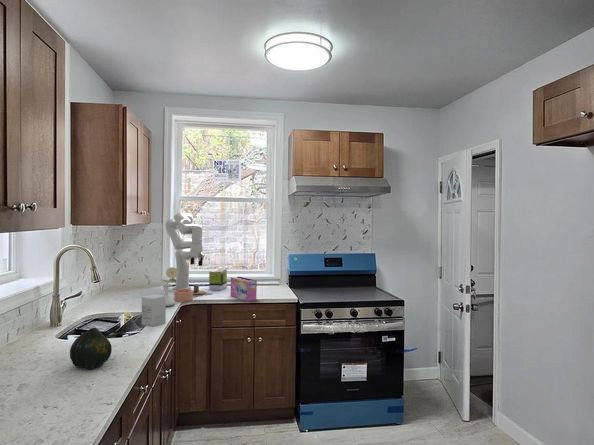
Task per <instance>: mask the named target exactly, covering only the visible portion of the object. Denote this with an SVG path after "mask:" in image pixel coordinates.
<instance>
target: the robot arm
mask: <svg viewBox="0 0 594 445" xmlns="http://www.w3.org/2000/svg"><path fill="white" fill-rule="evenodd" d="M193 221H194V217H193V215H192V213H187V212H186V213H184V212H183V213H181V212H180V213H176V214H175V215H174V216H173V219H171V218H170V219H168V220H166V222H165V230H166V233H167V234H168V236H169V237H170V240H171V243H172V245H173V248H174V249H175V250H176V251H175V253H174V254H175V256H174V257H175V263H176V266H175V268H176V270H177V271H178V276H177V277H175V280H176V282H174V287H173V289H174V290H179V289H191V290H192V287H191V286H189V285H190V265H192V266H193V265H195V261H196V260H197V259H198V261H197V262H198V264H197V266H198V267H202V266H203V261H204V259H205V258H204V257H205V254H204V251H203V226H202V225H199V224H195V223H194V224H193ZM183 235H186V236H187V235H191V238H189V237H188V238H187V237H186V238H183ZM187 261H189V263H190V265H189V263H188V262H187Z"/></svg>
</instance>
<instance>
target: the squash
mask: <svg viewBox="0 0 594 445" xmlns="http://www.w3.org/2000/svg"><path fill="white" fill-rule="evenodd" d="M112 351H113V350H112V344H111V341H110V340H109V339H108V338H107V337H106V336H105V335H104V334H103V333H102V332H101V331H100V330H99V329H98V328H97V327H93V328H89V329H88V330H86V331H84V332H83V333H82V334H80V335H79V336H78V337H77V338H76V339H75V340H74V341H73V343H72V344H71V346H70V348H69V359H70V361H71V362H72V365H73V366H75V367H79V368H81V367H83V368H84V367H85V368H86V369H87V370H92V369H94V367H95V368H98V367H101V366H103V365H104V364H105V363H106V362H107V361H108V360H109V359H110V357H111V354H112Z"/></svg>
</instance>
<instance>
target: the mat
mask: <svg viewBox="0 0 594 445" xmlns="http://www.w3.org/2000/svg"><path fill="white" fill-rule="evenodd" d="M204 295H205V296H210V295H213V293H212V292H208V291H206V294H204ZM198 296H199V297H204V296H203V295H193V298H199V297H198Z"/></svg>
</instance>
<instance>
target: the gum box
mask: <svg viewBox="0 0 594 445" xmlns="http://www.w3.org/2000/svg"><path fill="white" fill-rule="evenodd" d="M257 281H258V280H255V279H252V278H251V279H250V278H246V277H242V276H236V277H230V297H233V298H237V299H240V300H243V301H246V302H250V301H255V300H257V292H258V290H257V284H258V282H257Z"/></svg>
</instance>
